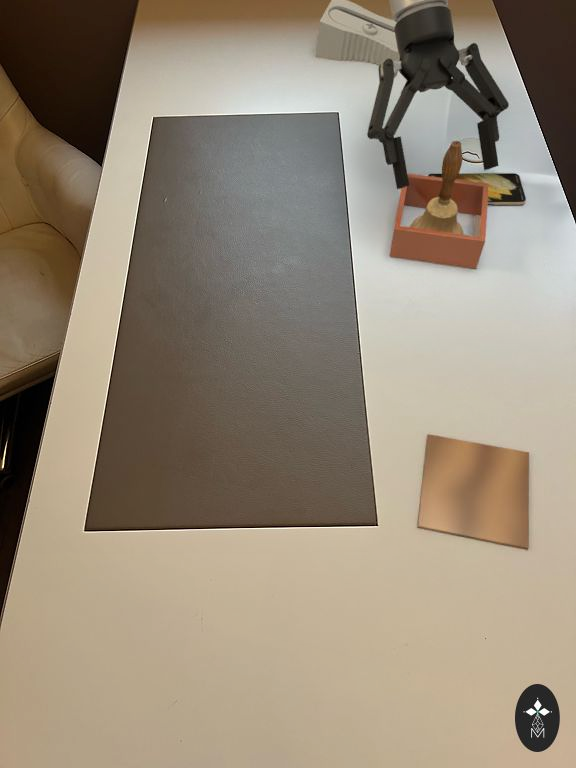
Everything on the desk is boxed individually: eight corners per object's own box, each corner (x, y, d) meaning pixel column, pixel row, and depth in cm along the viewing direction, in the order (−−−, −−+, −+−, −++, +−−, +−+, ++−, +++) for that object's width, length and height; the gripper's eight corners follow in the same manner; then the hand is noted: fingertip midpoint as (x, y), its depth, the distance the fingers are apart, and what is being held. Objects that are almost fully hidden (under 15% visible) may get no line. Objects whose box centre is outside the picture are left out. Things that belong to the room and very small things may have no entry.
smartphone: (427, 173, 103) (518, 172, 103) (426, 176, 104) (517, 176, 103) (431, 201, 99) (526, 201, 99) (430, 205, 100) (525, 205, 99)
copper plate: (528, 453, 75) (529, 452, 74) (527, 549, 68) (528, 548, 68) (427, 435, 76) (427, 433, 76) (417, 527, 70) (417, 526, 69)
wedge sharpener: (329, 30, 131) (331, -6, 126) (424, 43, 128) (430, 7, 122) (315, 56, 126) (316, 20, 120) (413, 71, 122) (419, 35, 116)
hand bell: (450, 260, 93) (475, 169, 80) (399, 240, 95) (416, 149, 82) (471, 227, 97) (499, 135, 84) (422, 209, 99) (441, 117, 86)
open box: (480, 212, 99) (488, 183, 94) (476, 269, 92) (485, 241, 87) (399, 201, 100) (404, 172, 96) (389, 256, 93) (394, 228, 89)
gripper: (490, 12, 89) (512, 164, 94) (326, 41, 85) (356, 199, 90) (520, -12, 82) (542, 155, 86) (341, 19, 78) (374, 191, 82)
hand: (447, 177), depth 88 cm, fingers open, 13 cm apart
